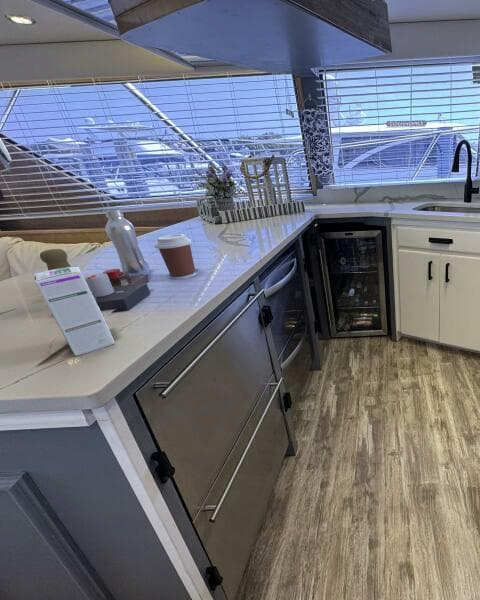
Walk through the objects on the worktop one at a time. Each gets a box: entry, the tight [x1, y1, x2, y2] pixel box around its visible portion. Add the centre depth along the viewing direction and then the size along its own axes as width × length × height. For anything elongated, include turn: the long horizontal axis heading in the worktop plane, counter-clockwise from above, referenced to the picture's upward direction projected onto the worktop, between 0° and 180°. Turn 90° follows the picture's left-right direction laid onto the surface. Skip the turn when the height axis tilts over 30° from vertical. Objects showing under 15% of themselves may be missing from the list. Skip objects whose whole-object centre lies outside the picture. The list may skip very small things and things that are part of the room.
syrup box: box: [33, 265, 115, 357], centre depth 57 cm, size 6×6×14 cm
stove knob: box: [83, 272, 114, 297], centre depth 76 cm, size 4×4×5 cm
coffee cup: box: [154, 233, 197, 280], centre depth 95 cm, size 9×9×12 cm
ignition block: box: [109, 271, 149, 287], centre depth 88 cm, size 11×9×4 cm
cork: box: [39, 248, 72, 271], centre depth 90 cm, size 6×6×11 cm
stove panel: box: [94, 282, 151, 313], centre depth 77 cm, size 14×11×3 cm
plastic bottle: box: [104, 208, 151, 276], centre depth 95 cm, size 6×7×20 cm
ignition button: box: [102, 268, 122, 278], centre depth 87 cm, size 4×4×2 cm
